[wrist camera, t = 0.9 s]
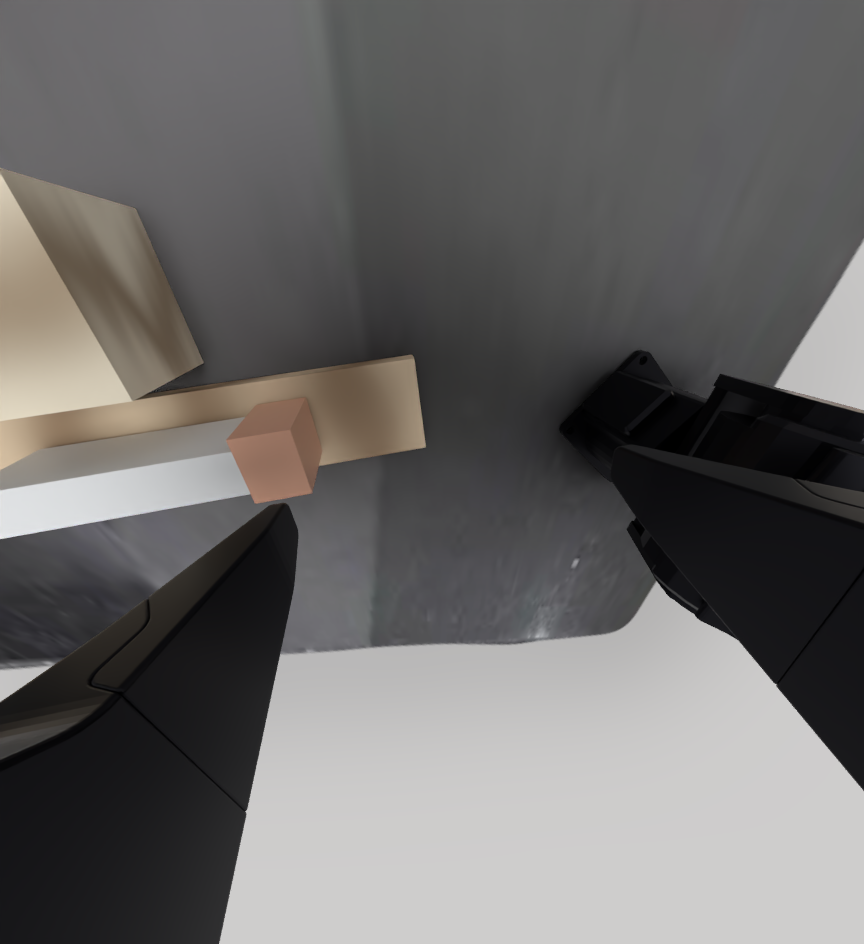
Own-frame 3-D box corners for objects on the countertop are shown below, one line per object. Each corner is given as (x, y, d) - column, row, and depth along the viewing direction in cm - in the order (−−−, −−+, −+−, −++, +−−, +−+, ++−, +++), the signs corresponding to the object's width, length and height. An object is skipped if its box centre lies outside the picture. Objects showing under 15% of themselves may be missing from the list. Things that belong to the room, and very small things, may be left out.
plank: (412, 354, 18) (414, 358, 17) (423, 440, 20) (425, 447, 20) (-334, 465, 15) (-377, 476, 14) (-211, 549, 17) (-242, 563, 17)
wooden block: (207, 368, 17) (137, 409, 12) (75, 387, 16) (-59, 439, 11) (136, 208, 13) (-3, 167, 8) (-31, 225, 13) (-292, 191, 8)
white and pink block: (306, 397, 17) (290, 429, 13) (322, 450, 18) (312, 493, 15) (32, 439, 16) (-68, 488, 12) (74, 493, 17) (-4, 550, 14)
